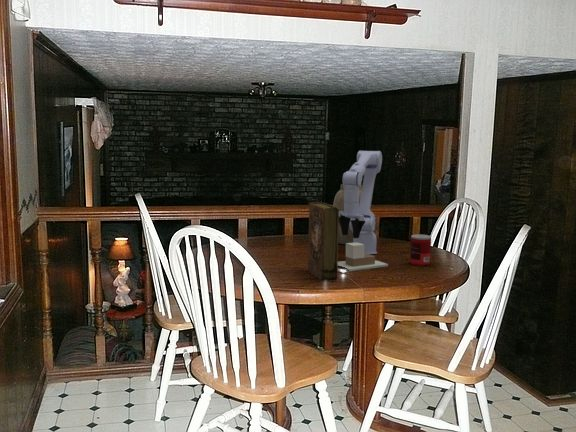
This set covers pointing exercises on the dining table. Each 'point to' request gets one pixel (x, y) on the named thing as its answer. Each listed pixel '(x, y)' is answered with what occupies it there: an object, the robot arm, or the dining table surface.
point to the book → (323, 240)
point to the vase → (340, 204)
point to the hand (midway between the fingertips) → (350, 236)
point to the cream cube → (354, 250)
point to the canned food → (420, 250)
